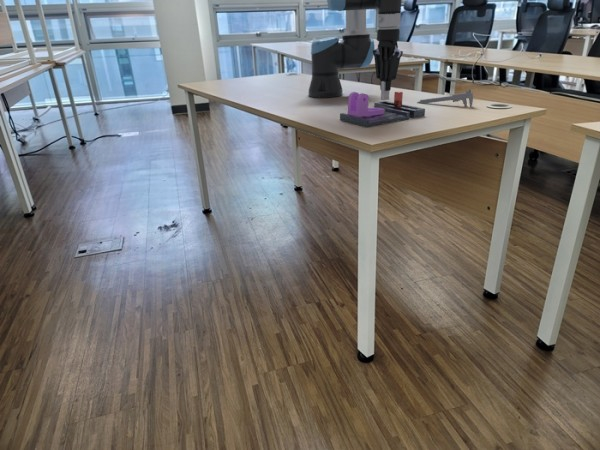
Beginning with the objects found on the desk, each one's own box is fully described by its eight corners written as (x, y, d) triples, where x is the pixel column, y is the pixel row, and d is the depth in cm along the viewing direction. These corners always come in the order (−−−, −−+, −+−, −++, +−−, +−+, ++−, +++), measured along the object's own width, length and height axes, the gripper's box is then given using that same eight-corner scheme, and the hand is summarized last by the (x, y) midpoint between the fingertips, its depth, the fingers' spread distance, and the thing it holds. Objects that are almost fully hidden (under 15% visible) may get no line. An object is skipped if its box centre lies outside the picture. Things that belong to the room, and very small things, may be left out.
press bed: (339, 120, 142) (339, 113, 141) (380, 112, 150) (381, 106, 149) (366, 127, 131) (366, 120, 130) (409, 118, 139) (409, 112, 138)
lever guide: (374, 109, 155) (374, 102, 154) (384, 107, 157) (384, 100, 156) (413, 118, 140) (414, 110, 139) (424, 115, 142) (425, 108, 141)
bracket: (358, 116, 135) (360, 94, 132) (347, 114, 139) (348, 92, 136) (387, 113, 141) (390, 92, 139) (376, 111, 146) (378, 90, 143)
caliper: (471, 107, 153) (474, 89, 150) (471, 107, 152) (473, 89, 149) (417, 103, 164) (419, 86, 161) (416, 103, 163) (418, 86, 160)
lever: (391, 109, 149) (392, 92, 146) (397, 108, 150) (398, 91, 148) (412, 114, 141) (413, 95, 139) (418, 112, 143) (419, 94, 140)
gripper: (367, 28, 146) (365, 98, 156) (393, 29, 136) (389, 103, 146) (383, 27, 149) (380, 96, 160) (410, 27, 139) (405, 100, 150)
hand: (384, 99), depth 153 cm, fingers closed
